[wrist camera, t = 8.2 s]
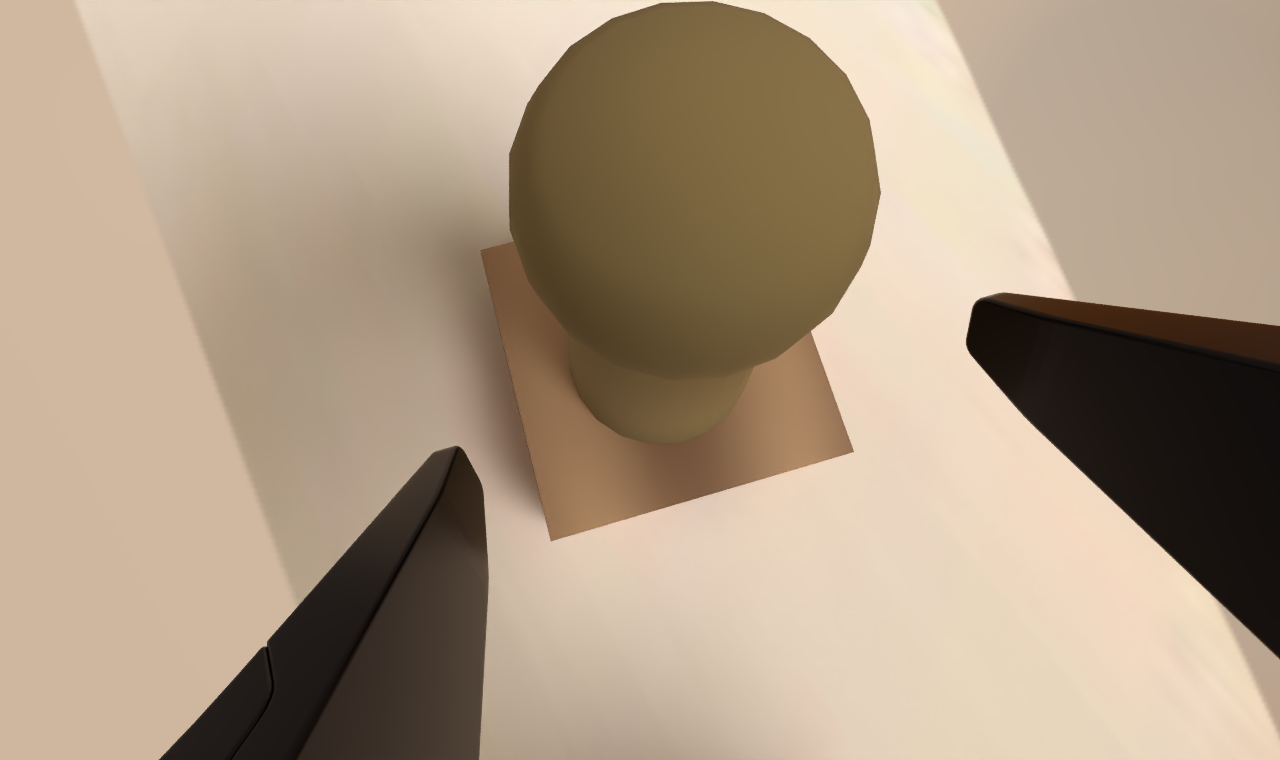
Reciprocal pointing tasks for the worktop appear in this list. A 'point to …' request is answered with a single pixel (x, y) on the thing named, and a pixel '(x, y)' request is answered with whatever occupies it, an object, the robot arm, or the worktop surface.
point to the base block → (633, 470)
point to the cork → (689, 207)
